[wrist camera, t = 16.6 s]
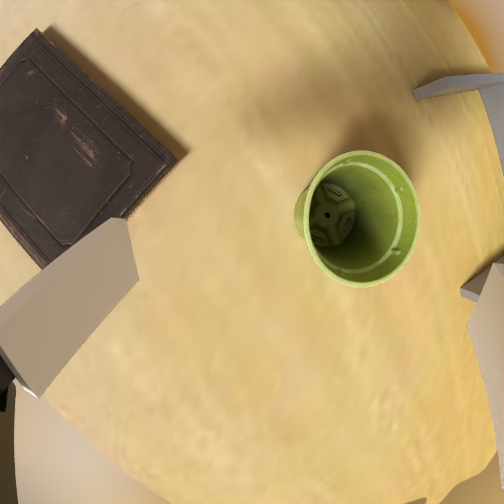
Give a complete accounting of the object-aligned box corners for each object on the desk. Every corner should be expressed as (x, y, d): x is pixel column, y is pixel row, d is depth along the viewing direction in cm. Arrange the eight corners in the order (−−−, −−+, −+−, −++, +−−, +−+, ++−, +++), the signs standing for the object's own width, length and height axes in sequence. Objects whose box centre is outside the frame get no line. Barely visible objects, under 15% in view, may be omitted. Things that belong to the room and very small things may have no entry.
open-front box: (411, 90, 28) (445, 76, 22) (479, 81, 29) (509, 72, 23) (461, 295, 33) (492, 309, 27) (517, 250, 34) (545, 257, 29)
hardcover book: (44, 36, 21) (36, 27, 19) (180, 163, 26) (177, 159, 24) (-41, 148, 21) (-52, 146, 19) (72, 289, 26) (63, 296, 24)
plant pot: (260, 245, 28) (282, 264, 20) (295, 148, 27) (330, 127, 19) (348, 276, 30) (395, 301, 21) (378, 187, 29) (433, 184, 20)
